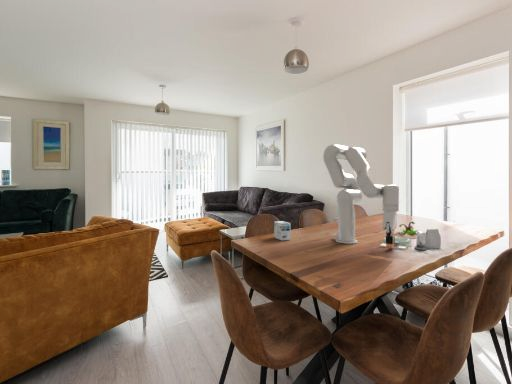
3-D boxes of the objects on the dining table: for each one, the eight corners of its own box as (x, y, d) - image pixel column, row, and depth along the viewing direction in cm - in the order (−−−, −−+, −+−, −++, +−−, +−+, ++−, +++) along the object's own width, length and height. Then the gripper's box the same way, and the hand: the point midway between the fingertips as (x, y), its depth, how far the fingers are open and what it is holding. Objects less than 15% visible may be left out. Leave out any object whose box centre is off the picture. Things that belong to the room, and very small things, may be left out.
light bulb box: (290, 240, 164) (291, 222, 163) (281, 240, 161) (281, 223, 161) (282, 236, 174) (283, 220, 173) (273, 237, 171) (273, 221, 171)
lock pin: (386, 247, 138) (386, 230, 138) (392, 243, 149) (393, 227, 148) (392, 248, 136) (392, 231, 136) (398, 244, 147) (399, 228, 146)
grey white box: (440, 248, 143) (440, 229, 142) (429, 248, 141) (429, 230, 141) (434, 246, 146) (435, 228, 146) (424, 247, 145) (424, 228, 145)
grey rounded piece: (413, 249, 139) (413, 232, 139) (415, 247, 144) (416, 231, 144) (426, 251, 136) (426, 233, 136) (427, 249, 140) (428, 232, 140)
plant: (435, 242, 159) (435, 223, 159) (401, 242, 160) (402, 223, 160) (416, 236, 179) (416, 219, 179) (387, 235, 180) (387, 219, 179)
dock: (380, 246, 145) (380, 240, 145) (387, 242, 157) (387, 236, 157) (404, 250, 138) (404, 243, 137) (410, 245, 149) (410, 239, 149)
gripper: (386, 207, 146) (386, 239, 147) (378, 208, 134) (378, 244, 134) (401, 207, 142) (401, 241, 142) (394, 209, 129) (394, 247, 129)
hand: (390, 242), depth 138 cm, fingers closed on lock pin, 3 cm apart
